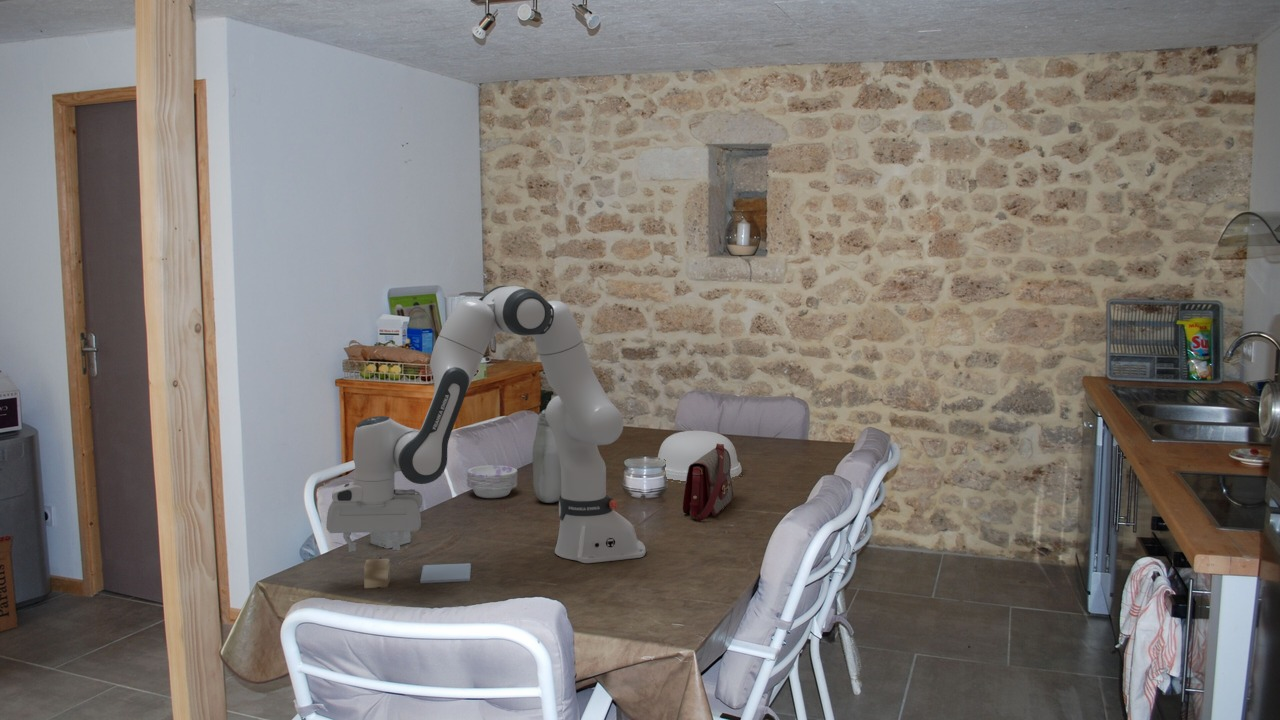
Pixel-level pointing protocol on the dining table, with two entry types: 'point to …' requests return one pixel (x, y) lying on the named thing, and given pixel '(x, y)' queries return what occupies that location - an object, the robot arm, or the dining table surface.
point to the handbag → (708, 484)
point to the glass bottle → (546, 463)
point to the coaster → (446, 573)
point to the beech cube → (376, 573)
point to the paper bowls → (492, 480)
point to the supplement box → (388, 538)
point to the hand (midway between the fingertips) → (374, 550)
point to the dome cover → (693, 452)
